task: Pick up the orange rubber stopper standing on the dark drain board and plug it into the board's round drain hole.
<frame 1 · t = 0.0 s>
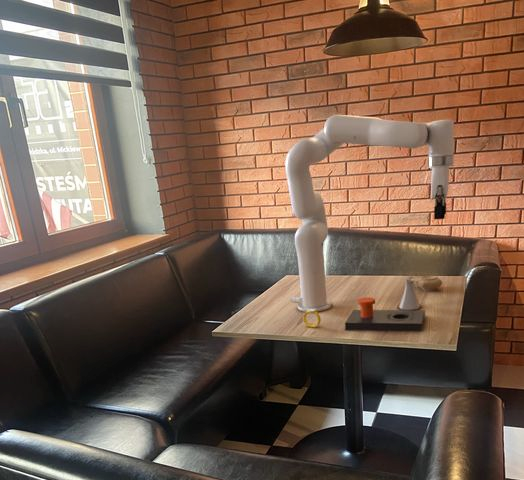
hand: (440, 216, 176), 31 cm above the table, tool pointing down, fingers open, 9 cm apart
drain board: (385, 323, 177), on the table
flask: (409, 308, 191), on the table
stopper: (367, 316, 178), point 2 cm above the table, touching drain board
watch: (312, 327, 182), on the table
oil lamp: (423, 289, 211), on the table
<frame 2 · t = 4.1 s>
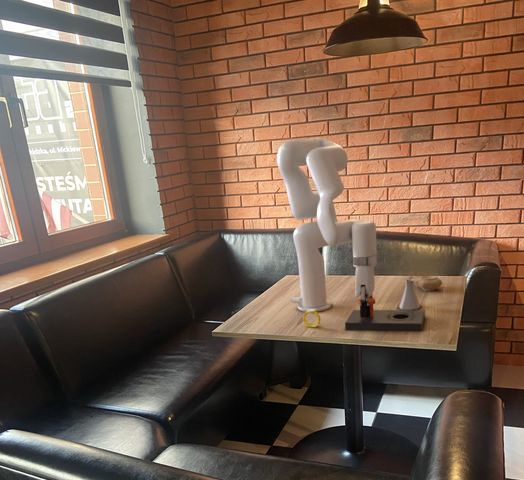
hand: (367, 313, 178), 3 cm above the table, tool pointing down, fingers closed on stopper, 5 cm apart
stopper: (367, 316, 178), point 3 cm above the table, touching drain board, gripper
everything else where it was.
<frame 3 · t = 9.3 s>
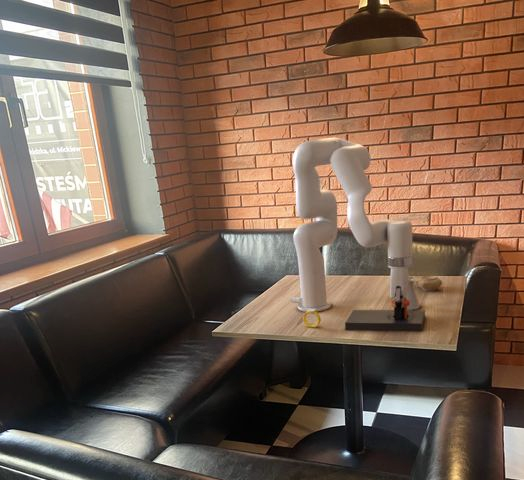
hand: (400, 315, 174), 3 cm above the table, tool pointing down, fingers closed on stopper, 5 cm apart
stopper: (400, 318, 175), point 2 cm above the table, touching gripper
everything else where it was.
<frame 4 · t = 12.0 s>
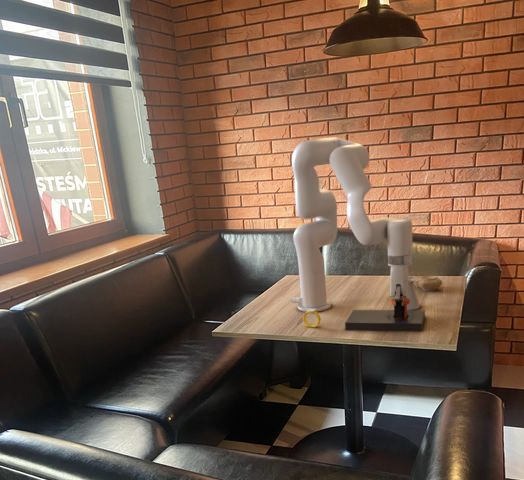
hand: (400, 314, 174), 3 cm above the table, tool pointing down, fingers closed on stopper, 5 cm apart
stopper: (400, 316, 175), point 2 cm above the table, touching gripper
everything else where it was.
when the fingers open (3 cm above the table, at t = 14.5 s): stopper drops 2 cm, resting in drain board.
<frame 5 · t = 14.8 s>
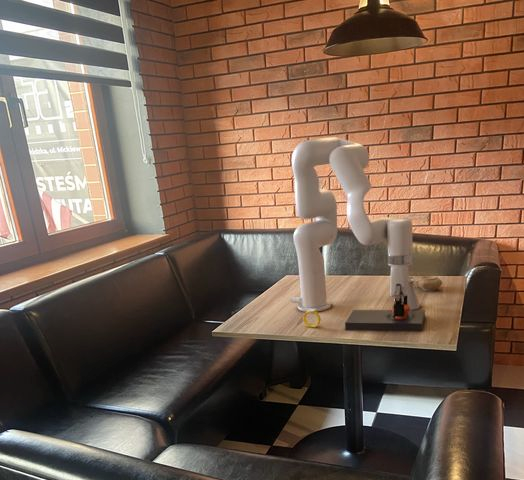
hand: (400, 311, 174), 4 cm above the table, tool pointing down, fingers open, 9 cm apart
stopper: (401, 323, 175), resting in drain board
everything else where it was.
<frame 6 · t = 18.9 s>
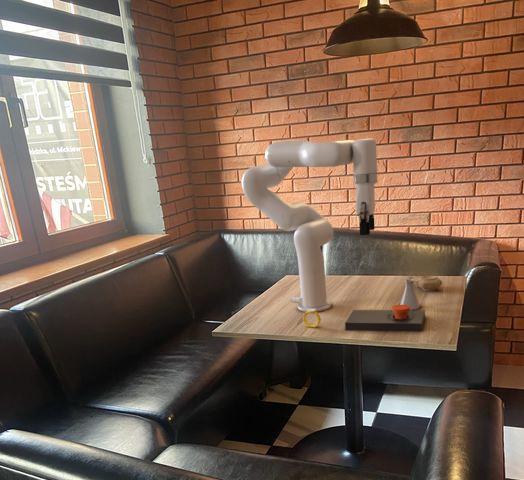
hand: (367, 232, 180), 28 cm above the table, tool pointing down, fingers open, 9 cm apart
nothing on the table moved.
at the end: stopper 0.1 cm from the target spot in the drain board, point 0.0 cm above the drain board's base; stopper tilted 0°; the gripper is holding nothing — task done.
